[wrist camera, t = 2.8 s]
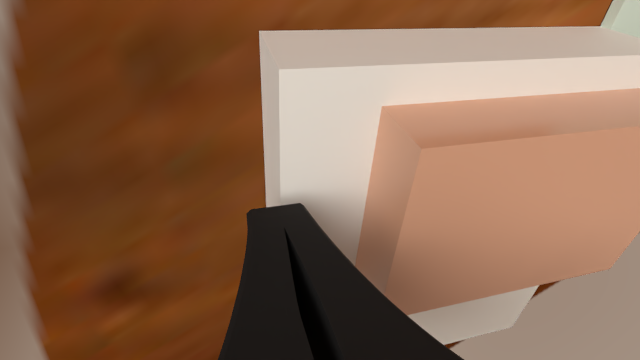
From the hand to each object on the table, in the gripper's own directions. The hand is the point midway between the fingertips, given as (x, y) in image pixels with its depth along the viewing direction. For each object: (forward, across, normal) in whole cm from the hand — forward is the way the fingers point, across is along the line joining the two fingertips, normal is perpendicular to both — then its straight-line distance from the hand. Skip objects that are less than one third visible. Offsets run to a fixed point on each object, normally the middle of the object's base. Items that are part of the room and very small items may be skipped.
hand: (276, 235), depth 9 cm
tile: (+1, -7, 0) cm, 7 cm away
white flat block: (+4, -6, +3) cm, 8 cm away
